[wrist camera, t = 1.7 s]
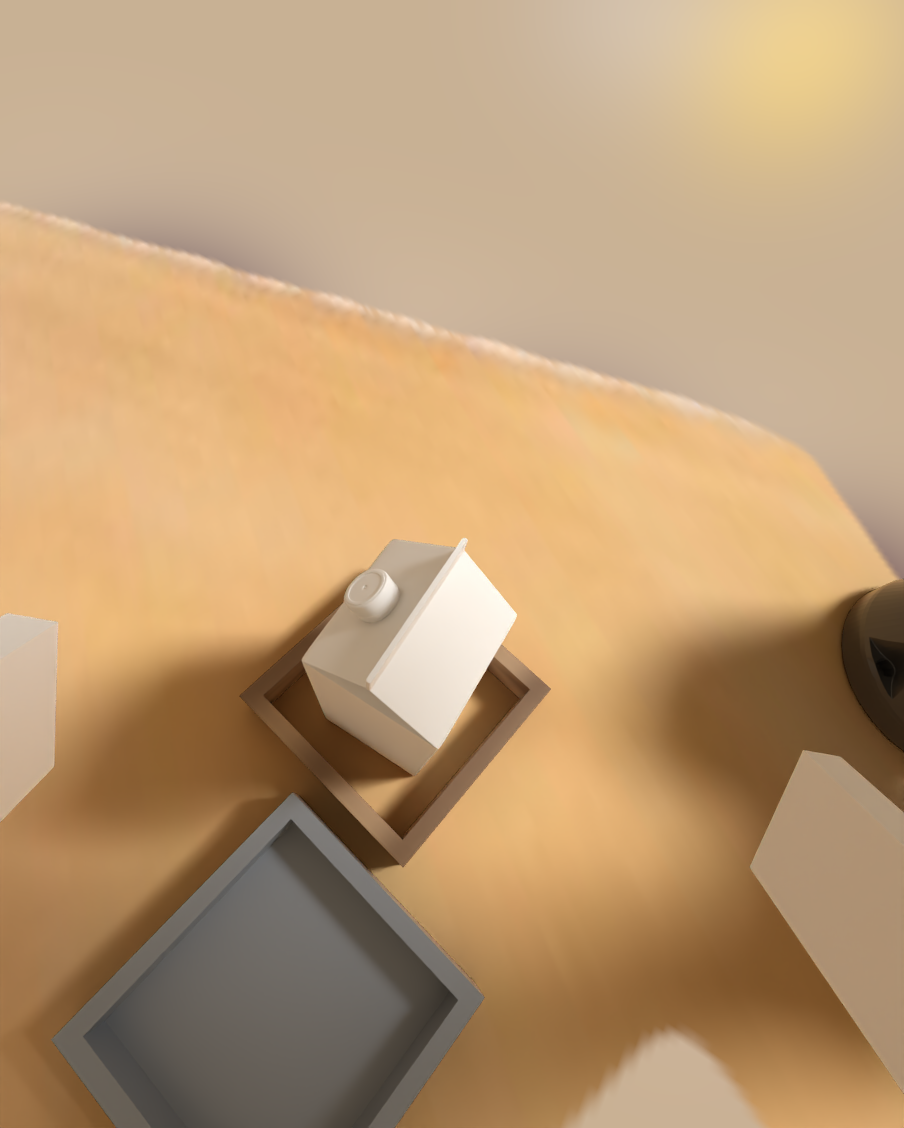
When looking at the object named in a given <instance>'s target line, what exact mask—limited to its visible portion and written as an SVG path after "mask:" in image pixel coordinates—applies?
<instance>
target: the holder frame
mask: <svg viewBox="0 0 904 1128" xmlns="http://www.w3.org/2000/svg"><path fill="white" fill-rule="evenodd" d="M342 604H343V603H342ZM342 604H341V605H342ZM341 605H340V606H341ZM340 606H339V607H338V608H337V609H336V610H334V611H333V612H332V613H331V614H330V615H329V616H328V617H327V618H326V619H324V620H323V621H322V622H321V623H320V624H319V625H318V626H317V627H315V628H314V629H313V630H312V631H311V632H310V633H309V634H308V635H307V636H305V637H304V638H303V639H302V640H301V641H300V642H299V643H298V644H297V645H295V646H294V647H293V648H292V649H291V650H290V651H289V652H288V653H287V654H285V655H284V656H283V657H282V658H281V659H280V660H279V661H278V662H277V663H275V664H274V665H273V666H272V667H271V668H270V669H269V670H268V671H267V672H265V673H264V674H263V675H262V676H261V677H260V678H259V679H258V680H257V681H255V682H254V683H253V684H252V685H251V686H250V687H249V688H248V689H247V690H245V691H244V692H243V693H242V694H241V695H240V697H241V698H242V699H243V701H244V702H245V703H246V704H247V705H248V706H249V707H250V708H251V709H252V710H253V711H254V712H255V713H256V714H257V715H258V716H259V717H260V718H261V719H262V720H263V721H264V722H265V724H266V725H267V726H268V727H269V728H270V729H271V730H272V731H273V732H274V733H275V734H276V735H277V736H278V737H279V738H280V739H281V740H282V741H283V742H284V743H285V744H286V746H287V747H288V748H289V749H290V750H291V751H292V752H293V753H294V754H295V755H296V756H297V757H298V758H299V759H300V760H301V761H302V762H303V763H304V764H305V765H306V766H307V768H308V769H309V770H310V771H311V772H312V773H313V774H314V775H315V776H316V777H317V778H318V779H319V780H320V781H321V782H322V783H323V784H324V785H325V786H326V787H327V788H328V790H329V791H330V792H331V793H332V794H333V795H334V796H335V797H336V798H337V799H338V800H339V801H340V802H341V803H342V804H343V805H344V806H345V807H346V808H347V809H348V810H349V811H350V813H351V814H352V815H353V816H354V817H355V818H356V819H357V820H358V821H359V822H360V823H361V824H362V825H363V826H364V827H365V828H366V829H367V830H368V831H369V832H370V833H371V835H372V836H373V837H374V838H375V839H376V840H377V841H378V842H379V843H380V844H381V845H382V846H383V847H384V848H385V849H386V850H387V851H388V852H389V853H390V854H391V855H392V857H393V858H394V859H395V860H396V861H397V862H398V863H399V864H400V865H401V866H402V867H404V866H405V865H406V863H407V862H408V861H409V860H410V859H411V857H412V856H413V855H414V854H415V853H416V851H417V850H418V849H419V848H420V847H421V845H422V844H423V843H424V842H425V840H426V839H427V838H428V837H429V836H430V834H431V833H432V832H433V831H434V830H435V828H436V827H437V826H438V825H439V824H440V822H441V821H442V820H443V819H444V818H445V816H446V815H447V814H448V813H449V812H450V810H451V809H452V808H453V807H454V805H455V804H456V803H457V802H458V801H459V799H460V798H461V797H462V796H463V795H464V793H465V792H466V791H467V790H468V789H469V787H470V786H471V785H472V784H473V783H474V781H475V780H476V779H477V778H478V777H479V775H480V774H481V773H482V772H483V770H484V769H485V768H486V767H487V766H488V764H489V763H490V762H491V761H492V760H493V758H494V757H495V756H496V755H497V754H498V752H499V751H500V750H501V749H502V748H503V746H504V745H505V744H506V743H507V742H508V740H509V739H510V738H511V737H512V735H513V734H514V733H515V732H516V731H517V729H518V728H519V727H520V726H521V725H522V723H523V722H524V721H525V720H526V719H527V717H528V716H529V715H530V714H531V713H532V711H533V710H534V709H535V708H536V707H537V705H538V704H539V703H540V702H541V700H542V699H543V698H544V697H545V696H546V694H547V693H548V692H549V691H550V690H551V689H550V688H549V687H548V686H547V685H546V684H545V683H544V682H543V681H542V680H540V679H539V678H538V677H537V676H536V675H535V674H534V673H533V672H532V671H530V670H529V669H528V668H527V667H526V666H525V665H524V664H523V663H522V662H520V661H519V660H518V659H517V658H516V657H515V656H514V655H513V654H512V653H510V652H509V651H508V650H507V649H506V648H505V647H504V646H503V645H502V644H501V645H500V647H499V649H498V650H497V652H496V654H495V656H494V657H493V659H492V661H491V662H490V664H489V666H488V668H487V669H488V670H489V671H490V672H491V673H492V674H493V675H494V676H495V677H497V678H498V679H499V680H500V681H501V682H502V683H503V684H504V685H505V686H506V687H507V688H509V689H510V690H511V691H512V692H513V693H514V694H515V695H516V696H517V697H518V698H519V700H518V701H517V702H516V703H515V705H514V706H513V707H512V708H511V709H510V710H509V712H508V713H507V714H506V715H505V716H504V718H503V719H502V720H501V721H500V722H499V723H498V725H497V726H496V727H495V728H494V729H493V730H492V732H491V733H490V734H489V735H488V736H487V737H486V739H485V740H484V741H483V742H482V743H481V745H480V746H479V747H478V748H477V749H476V750H475V752H474V753H473V754H472V755H471V756H470V757H469V759H468V760H467V761H466V762H465V763H464V765H463V766H462V767H461V768H460V769H459V770H458V772H457V773H456V774H455V775H454V776H453V777H452V779H451V780H450V781H449V782H448V783H447V785H446V786H445V787H444V788H443V789H442V790H441V792H440V793H439V794H438V795H437V796H436V797H435V799H434V800H433V801H432V802H431V803H430V805H429V806H428V807H427V808H426V809H425V810H424V812H423V813H422V814H421V815H420V816H419V817H418V819H417V820H416V821H415V822H414V823H413V825H412V826H411V827H410V828H409V829H408V830H407V832H406V833H405V834H404V835H403V836H402V837H401V838H400V837H399V836H398V835H397V833H396V832H395V831H394V830H393V829H392V828H391V827H390V826H389V825H388V824H387V823H386V822H385V821H384V820H383V819H382V818H381V817H380V816H379V815H378V814H377V813H376V812H375V811H374V810H373V809H372V808H371V807H370V806H369V805H368V803H367V802H366V801H365V800H364V799H363V798H362V797H361V796H360V795H359V794H358V793H357V792H356V791H355V790H354V789H353V788H352V787H351V786H350V785H349V784H348V783H347V782H346V781H345V780H344V779H343V778H342V777H341V776H340V775H339V773H338V772H337V771H336V770H335V769H334V768H333V767H332V766H331V765H330V764H329V763H328V762H327V761H326V760H325V759H324V758H323V757H322V756H321V755H320V754H319V753H318V752H317V751H316V750H315V749H314V748H313V747H312V746H311V745H310V744H309V742H308V741H307V740H306V739H305V738H304V737H303V736H302V735H301V734H300V733H299V732H298V731H297V730H296V729H295V728H294V727H293V726H292V725H291V724H290V723H289V722H288V721H287V720H286V719H285V718H284V717H283V716H282V715H281V714H280V712H279V711H278V710H277V709H276V708H275V707H274V706H273V705H272V703H273V702H274V701H275V700H276V699H278V698H279V697H280V696H281V695H282V694H283V693H284V692H285V691H286V690H287V689H288V688H289V687H290V686H291V685H293V684H294V683H295V682H296V681H297V680H298V679H299V678H300V677H301V676H302V675H303V674H304V673H305V672H306V671H305V668H304V666H303V663H302V658H303V656H304V655H305V653H306V652H307V650H308V649H309V648H310V646H311V645H312V644H313V642H314V641H315V640H316V638H317V637H318V635H319V634H320V633H321V631H322V630H323V629H324V627H325V626H326V625H327V623H328V622H329V621H330V620H331V618H332V617H333V616H334V614H335V613H336V612H337V610H338V609H339V608H340Z"/></svg>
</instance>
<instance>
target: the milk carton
mask: <svg viewBox="0 0 904 1128" xmlns="http://www.w3.org/2000/svg"><path fill="white" fill-rule="evenodd" d="M467 541H468V540H467V539H466V538H463V539H462V540H461V541H460V543H459V544H458V546H457V547H456V548H455V547H448V546H441V545H433V544H426V543H419V542H412V541H404V540H397V539H393V540H392V541H390V542H389V544H388V545H387V546H386V547H385V548H384V550H383V551H382V552H381V553H380V555H379V556H378V557H377V559H376V560H375V561H374V563H373V564H372V565H371V567H370V568H369V569H368V570H367V571H365V572H363V573H361V574H360V575H359V576H357V577H356V578H355V579H354V580H353V581H352V582H351V584H350V585H349V586H348V588H347V590H346V592H345V595H344V602H343V604H342V605H341V606H340V608H339V609H338V610H337V612H336V613H335V614H334V616H333V617H332V618H331V620H330V621H329V622H328V623H327V625H326V626H325V627H324V629H323V630H322V631H321V633H320V634H319V635H318V637H317V638H316V640H315V641H314V642H313V644H312V645H311V646H310V648H309V649H308V650H307V652H306V653H305V655H304V656H303V658H302V663H303V666H304V668H305V671H306V673H307V675H308V678H309V680H310V682H311V685H312V687H313V689H314V692H315V694H316V696H317V699H318V701H319V703H320V706H321V708H322V710H323V713H324V715H325V718H326V719H328V720H329V721H331V722H332V723H334V724H335V725H337V726H338V727H340V728H342V729H343V730H345V731H346V732H348V733H349V734H351V735H352V736H354V737H355V738H357V739H358V740H360V741H361V742H363V743H364V744H366V745H367V746H369V747H370V748H372V749H373V750H375V751H376V752H378V753H379V754H381V755H382V756H384V757H386V758H387V759H389V760H390V761H392V762H393V763H395V764H396V765H398V766H399V767H401V768H402V769H404V770H405V771H407V772H408V773H410V774H411V775H413V776H415V775H416V774H417V773H418V772H419V771H420V770H421V768H422V767H423V766H424V765H425V764H426V763H427V762H428V761H429V759H430V758H431V757H432V756H433V755H434V754H435V753H436V751H437V750H438V749H439V748H440V747H441V745H442V744H443V742H444V741H445V739H446V738H447V736H448V734H449V732H450V731H451V729H452V727H453V726H454V724H455V722H456V721H457V719H458V717H459V715H460V714H461V712H462V710H463V709H464V707H465V705H466V703H467V702H468V700H469V698H470V697H471V695H472V693H473V691H474V690H475V688H476V686H477V685H478V683H479V681H480V680H481V678H482V676H483V674H484V673H485V671H486V669H487V668H488V666H489V664H490V662H491V661H492V659H493V657H494V656H495V654H496V652H497V650H498V649H499V647H500V645H501V644H502V642H503V640H504V638H505V637H506V635H507V633H508V632H509V630H510V628H511V626H512V625H513V623H514V621H515V619H516V616H517V614H516V613H515V612H514V610H513V609H512V608H511V607H510V605H509V604H508V603H507V602H506V601H505V599H504V598H503V597H502V596H501V595H500V593H499V592H498V591H497V590H496V588H495V587H494V586H493V585H492V584H491V582H490V581H489V580H488V579H487V578H486V576H485V575H484V574H483V573H482V571H481V570H480V569H479V568H478V567H477V565H476V564H475V563H474V562H473V561H472V559H471V558H470V557H469V556H468V554H467V553H466V552H465V551H464V550H465V547H466V544H467Z"/></svg>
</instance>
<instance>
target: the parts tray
mask: <svg viewBox="0 0 904 1128" xmlns="http://www.w3.org/2000/svg"><path fill="white" fill-rule="evenodd" d="M484 998H485V997H484V996H483V994H482V993H481V991H480V990H479V988H478V987H477V985H476V984H475V982H474V981H473V980H472V979H471V978H470V977H469V976H468V975H467V974H466V973H465V972H464V971H463V970H462V969H461V968H460V967H459V965H458V964H457V963H456V962H455V961H454V960H453V959H452V958H451V957H450V956H449V955H448V954H447V953H446V952H445V951H444V949H443V948H442V947H441V946H440V945H439V944H438V943H437V942H436V941H435V940H434V939H433V938H432V937H431V936H430V935H429V933H428V932H427V931H426V930H425V929H424V928H423V927H422V926H421V925H420V924H419V923H418V922H417V921H416V920H415V919H414V917H413V916H412V915H411V914H410V913H409V912H408V911H407V910H406V909H405V908H404V907H403V906H402V905H401V904H400V903H399V902H398V900H397V899H396V898H395V897H394V896H393V895H392V894H391V893H390V892H389V891H388V890H387V889H386V888H385V887H384V886H383V884H382V883H381V882H380V881H379V880H378V879H377V878H376V877H375V876H374V875H373V874H372V873H371V872H370V871H369V870H368V868H367V867H366V866H365V865H364V864H363V863H362V862H361V861H360V860H359V859H358V858H357V857H356V856H355V855H354V854H353V853H352V851H351V850H350V849H349V848H348V847H347V846H346V845H345V844H344V843H343V842H342V841H341V840H340V839H339V838H338V837H337V835H336V834H335V833H334V832H333V831H332V830H331V829H330V828H329V827H328V826H327V825H326V824H325V823H324V822H323V821H322V819H321V818H320V817H319V816H318V815H317V814H316V813H315V812H314V811H313V810H312V809H311V808H310V807H309V806H308V805H307V804H306V802H305V801H304V800H303V799H302V798H301V797H300V796H299V795H298V794H295V793H293V792H292V793H291V794H290V795H289V796H288V797H287V798H286V799H285V800H284V801H283V803H282V804H281V805H280V806H279V807H278V808H277V809H276V810H275V811H274V812H273V813H272V814H271V815H270V816H269V817H268V818H267V819H266V820H265V821H264V822H263V823H262V824H261V825H260V826H259V827H258V828H257V829H256V830H255V831H254V832H253V833H252V834H251V835H250V836H249V837H248V838H247V839H246V840H245V841H244V842H243V844H242V845H241V846H240V847H239V848H238V849H237V850H236V851H235V852H234V853H233V854H232V855H231V856H230V857H229V858H228V859H227V860H226V861H225V862H224V863H223V864H222V865H221V866H220V867H219V868H218V869H217V870H216V871H215V872H214V873H213V874H212V875H211V876H210V877H209V878H208V879H207V880H206V881H205V882H204V883H203V884H202V886H201V887H200V888H199V889H198V890H197V891H196V892H195V893H194V894H193V895H192V896H191V897H190V898H189V899H188V900H187V901H186V902H185V903H184V904H183V905H182V906H181V907H180V908H179V909H178V910H177V911H176V912H175V913H174V914H173V915H172V916H171V917H170V918H169V919H168V920H167V921H166V922H165V923H164V924H163V925H162V927H161V928H160V929H159V930H158V931H157V932H156V933H155V934H154V935H153V936H152V937H151V938H150V939H149V940H148V941H147V942H146V943H145V944H144V945H143V946H142V947H141V948H140V949H139V950H138V951H137V952H136V953H135V954H134V955H133V956H132V957H131V958H130V959H129V960H128V961H127V962H126V963H125V964H124V965H123V966H122V967H121V969H120V970H119V971H118V972H117V973H116V974H115V975H114V976H113V977H112V978H111V979H110V980H109V981H108V982H107V983H106V984H105V985H104V986H103V987H102V988H101V989H100V990H99V991H98V992H97V993H96V994H95V995H94V996H93V997H92V998H91V999H90V1000H89V1001H88V1002H87V1003H86V1004H85V1005H84V1006H83V1007H82V1008H81V1009H80V1011H79V1012H78V1013H77V1014H76V1015H75V1016H74V1017H73V1018H72V1019H71V1020H70V1021H69V1022H68V1023H67V1024H66V1025H65V1026H64V1027H63V1028H62V1029H61V1030H60V1031H59V1032H58V1033H57V1034H56V1035H55V1036H54V1037H53V1038H52V1039H51V1040H52V1042H53V1043H54V1044H55V1046H56V1047H57V1048H58V1050H59V1051H60V1052H61V1054H62V1055H63V1056H64V1058H65V1059H66V1060H67V1062H68V1063H69V1065H70V1066H71V1067H72V1069H73V1070H74V1071H75V1073H76V1074H77V1075H78V1077H79V1078H80V1079H81V1081H82V1082H83V1083H84V1085H85V1086H86V1088H87V1089H88V1090H89V1092H90V1093H91V1094H92V1096H93V1097H94V1098H95V1100H96V1101H97V1102H98V1104H99V1105H100V1106H101V1108H102V1109H103V1111H104V1112H105V1113H106V1115H107V1116H108V1117H109V1119H110V1120H111V1121H112V1123H113V1124H114V1125H115V1127H116V1128H395V1127H396V1125H397V1124H398V1122H399V1121H400V1119H401V1118H402V1117H403V1115H404V1114H405V1112H406V1111H407V1109H408V1108H409V1106H410V1105H411V1104H412V1102H413V1101H414V1099H415V1098H416V1096H417V1095H418V1093H419V1092H420V1091H421V1089H422V1088H423V1086H424V1085H425V1083H426V1082H427V1080H428V1079H429V1078H430V1076H431V1075H432V1073H433V1072H434V1070H435V1069H436V1067H437V1066H438V1065H439V1063H440V1062H441V1060H442V1059H443V1057H444V1056H445V1054H446V1053H447V1052H448V1050H449V1049H450V1047H451V1046H452V1044H453V1043H454V1041H455V1040H456V1038H457V1037H458V1036H459V1034H460V1033H461V1031H462V1030H463V1028H464V1027H465V1025H466V1024H467V1023H468V1021H469V1020H470V1018H471V1017H472V1015H473V1014H474V1012H475V1011H476V1010H477V1008H478V1007H479V1005H480V1004H481V1002H482V1001H483V999H484Z"/></svg>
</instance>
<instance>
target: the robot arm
mask: <svg viewBox="0 0 904 1128" xmlns="http://www.w3.org/2000/svg"><path fill="white" fill-rule="evenodd" d="M57 644H58V622H55V621H49V620H44V619H38V618H32V617H26V616H20V615H14V614H9V613H7V614H5V615H3V616H1V617H0V822H1V821H2V820H3V819H4V818H5V817H6V816H7V815H8V814H9V813H10V812H11V811H12V810H13V809H14V808H15V806H16V805H17V804H18V803H19V802H20V801H21V800H22V799H23V798H24V797H25V796H26V795H27V794H28V793H29V792H30V791H31V790H32V789H33V788H34V787H35V786H36V785H37V784H38V783H39V782H40V781H41V780H42V779H43V778H44V777H45V775H46V774H47V773H48V772H49V771H50V770H51V769H52V768H53V767H54V760H55V721H56V682H57ZM842 653H843V660H844V665H845V669H846V672H847V675H848V678H849V681H850V684H851V686H852V688H853V690H854V693H855V695H856V696H857V698H858V700H859V702H860V704H861V705H862V707H863V708H864V710H865V711H866V713H867V714H868V716H869V717H870V718H871V720H872V721H873V722H874V723H875V725H876V726H877V727H878V728H879V729H880V730H881V731H882V732H883V733H884V734H885V736H887V737H888V738H889V739H890V740H891V741H892V742H893V743H894V744H895V745H897V746H898V747H899V748H900V749H902V750H903V751H904V578H903V579H899V580H896V581H893V582H891V583H888V584H886V585H884V586H882V587H880V588H878V589H875V590H873V591H871V592H869V593H867V594H866V595H864V596H863V597H862V598H860V599H859V600H858V601H857V602H856V603H855V605H854V606H853V607H852V609H851V610H850V612H849V614H848V616H847V618H846V621H845V624H844V629H843V635H842ZM750 869H751V870H752V872H753V873H754V875H755V876H756V878H757V879H758V881H759V882H760V884H761V885H762V887H763V888H764V889H765V891H766V892H767V894H768V895H769V897H770V898H771V900H772V901H773V903H774V904H775V906H776V907H777V909H778V910H779V911H780V913H781V914H782V916H783V917H784V919H785V920H786V922H787V923H788V925H789V926H790V928H791V929H792V931H793V932H794V934H795V935H796V936H797V938H798V939H799V941H800V942H801V944H802V945H803V947H804V948H805V950H806V951H807V953H808V954H809V956H810V957H811V958H812V960H813V961H814V963H815V964H816V966H817V967H818V969H819V970H820V972H821V973H822V975H823V976H824V978H825V979H826V981H827V982H828V983H829V985H830V986H831V988H832V989H833V991H834V992H835V994H836V995H837V997H838V998H839V1000H840V1001H841V1003H842V1004H843V1006H844V1007H845V1008H846V1010H847V1011H848V1013H849V1014H850V1016H851V1017H852V1019H853V1020H854V1022H855V1023H856V1025H857V1026H858V1028H859V1029H860V1030H861V1032H862V1033H863V1035H864V1036H865V1038H866V1039H867V1041H868V1042H869V1044H870V1045H871V1047H872V1048H873V1050H874V1051H875V1053H876V1054H877V1055H878V1057H879V1058H880V1060H881V1061H882V1063H883V1064H884V1066H885V1067H886V1069H887V1070H888V1072H889V1073H890V1075H891V1076H892V1077H893V1079H894V1080H895V1082H896V1083H897V1085H898V1086H899V1088H900V1089H901V1091H902V1092H903V1094H904V812H903V811H901V810H900V809H899V808H898V807H897V806H896V805H895V804H894V803H892V802H891V801H890V800H889V799H888V798H887V797H886V796H885V795H883V794H882V793H881V792H880V791H879V790H878V789H877V788H875V787H874V786H873V785H872V784H871V783H870V782H869V781H868V780H866V779H865V778H864V777H863V776H862V775H861V774H860V773H859V772H857V771H856V770H855V769H854V768H853V767H852V766H851V765H849V764H848V763H847V762H846V761H845V760H844V759H843V758H842V757H840V756H835V755H829V754H823V753H818V752H812V751H806V750H803V751H802V754H801V756H800V758H799V760H798V762H797V765H796V767H795V769H794V771H793V773H792V775H791V778H790V780H789V782H788V784H787V786H786V789H785V791H784V793H783V795H782V797H781V799H780V802H779V804H778V806H777V808H776V810H775V812H774V815H773V817H772V819H771V821H770V823H769V826H768V828H767V830H766V832H765V834H764V836H763V839H762V841H761V843H760V845H759V847H758V850H757V852H756V854H755V856H754V858H753V860H752V863H751V865H750Z"/></svg>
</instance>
